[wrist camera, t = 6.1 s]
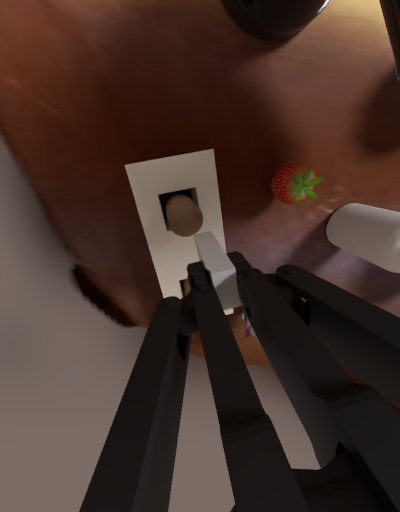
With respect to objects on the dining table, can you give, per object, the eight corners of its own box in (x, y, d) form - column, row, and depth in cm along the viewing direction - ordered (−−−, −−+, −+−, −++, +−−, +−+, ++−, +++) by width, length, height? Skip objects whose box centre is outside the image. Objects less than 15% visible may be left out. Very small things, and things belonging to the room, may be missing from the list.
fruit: (275, 205, 34) (306, 216, 27) (254, 183, 32) (282, 190, 25) (299, 178, 33) (338, 183, 26) (280, 154, 31) (316, 152, 24)
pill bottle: (322, 249, 40) (406, 293, 26) (327, 206, 36) (427, 233, 23) (359, 241, 41) (460, 280, 27) (368, 198, 37) (488, 219, 24)
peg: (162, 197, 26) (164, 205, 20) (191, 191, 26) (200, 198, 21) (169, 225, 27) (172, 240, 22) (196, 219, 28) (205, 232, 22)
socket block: (130, 164, 28) (124, 164, 23) (203, 151, 29) (213, 148, 24) (170, 305, 39) (172, 328, 33) (223, 292, 40) (233, 312, 34)
